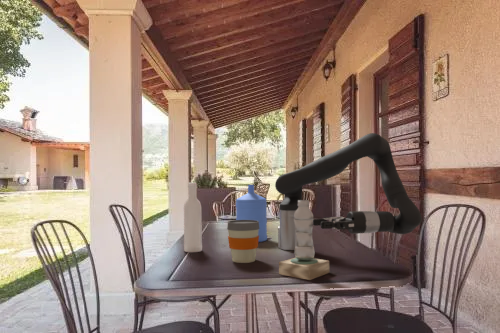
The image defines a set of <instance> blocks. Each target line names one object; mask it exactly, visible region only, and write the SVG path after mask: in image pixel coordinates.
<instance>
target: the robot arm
mask: <svg viewBox="0 0 500 333" xmlns="http://www.w3.org/2000/svg"><path fill="white" fill-rule="evenodd" d="M366 157H368V158H369V159H371V160H372V161H373V162H374V164H375V165H376V167H377V169H378V171H379V173H380V177H381V185H382V189H383V192H384V195H385V196H386V200H387V202H388V204H389V206H390V208H392V209H398V210H399V214H398V215H393V213H392V212H390V211H387V210H386V211H385V210H383V211H381V210H380V211H374V210H373V211H371V210H360V211H359V210H358V211H349V212H347V214H346V217H343V216H336V217H335V216H331V217H330V216H329V217H326V216H325V217H323V218H313V226H320V228H321V229H326V230H328V229H329V230H330V229H333V230H338V231H340V230H347V231H348V233H349V234H351V235H354V234H355V235H356V234H359V235H360V234H372V233H384V232H385V233H386V232H387V233H393V234H398V235H406V234H410V233H412V232H413V231H414V230H415V229H416V228H417V227H418V226H419V225H421V223H422V219H423V218H422V213H421V210H420V209H419V208H418V206H417V205H416V204H415V203H414V202H413V201H412V200H411V198H410V196H409V195H408V193H407V191H406V188H405V186H404V184H403V181H402V179H401V177H400V175H399V173H398V170H397V168H396V164H395V161H394V157H393V153H392V149H391V146H390V143H389V142H388V140H387V139H386V138H384V137H383V136H381V135H380V134H379V133H374V132H372V133H366V134H365V135H363V136H361V137H360V138H358V139H356V140H354V141H353V142H351V143H349V144H347V145H346V146H343V147H342V148H340V149H338V150H335V151H334V152H331V153H328V154H326V155H324V156H322V157H319V158H318V159H316V160H314V161H311V162H309V163H307V164H306V165H304V166H303V167H300V168H298V169H295V170H293V171H290V172H287V173H283V174H281V175H279V176H278V178H276V181H275V185H274V187H275V190H276V191H277V192H278V193H279V194H281V195H283V196H284V197H283V200H282V201H281V202H280V203H279V226H278V227H277V243H278V245H277V246H278V247H277V249H280V250H283V251H284V250H285V251H295V246H296V229H295V222H294V213H295V212H296V210H297V209H298V200H303V186H306V185H309V184H314V183H319V182H322V181H326V180H328V179H331V178H333V177H336V176H337V175H340V174H341V173H342V172H344V170H346V168H347V167H348V166H349V165H350V164H352V163H354V162H355V161H357V160H360V159H362V158H366Z"/></svg>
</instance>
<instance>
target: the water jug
mask: <svg viewBox="0 0 500 333" xmlns="http://www.w3.org/2000/svg"><path fill="white" fill-rule="evenodd" d="M247 187H248V188H247V193H246V194H243V195H241V196H240V197H237V198H236V200H235V209H236V211H235V215H236V217H235V218H236V219H235V220H256V221H259V228H260V229H259V231H258V236H259V240H258V243H262V242H266V241H267V240H268V233H267V229H268V228H267V227H268V225H267V223H268V218H267V216H268V215H267V198H266V197H263V196H261V195H259V194H257V193H255V184H248V185H247Z"/></svg>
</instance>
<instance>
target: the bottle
mask: <svg viewBox="0 0 500 333" xmlns="http://www.w3.org/2000/svg"><path fill="white" fill-rule="evenodd" d="M187 184H188V185H187V188H188V189H187V190H188V195H187V196H188V198H187V199H186V200H185V202H184V205H183V241H184V242H183V249H184V250H183V252H185V253H198V252H199V253H200V252H202V250H203V240H202V239H203V236H202V235H203V234H202V233H203V230H202V229H203V227H202V225H203V224H202V222H203V220H202V219H203V217H202V216H203V215H202V204H201V201H200V200H199V199H198V197H197V191H198V190H197V188H198V185H197V182H188V183H187Z"/></svg>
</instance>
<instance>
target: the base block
mask: <svg viewBox="0 0 500 333" xmlns="http://www.w3.org/2000/svg"><path fill="white" fill-rule="evenodd" d="M278 274H279V275H282V276H287V277H293V278H297V279H302V280H308V281H311V280H314V279H317V278H319V277H322V276H324V275H327V274H330V260H328V259H327V260H326V259H322V258H321V259H320V258H315V257H314V258H313V259H312V260H307V261H302V260H298V259H296V257H293V258H289V259H286V260H281V261H279V262H278Z"/></svg>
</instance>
